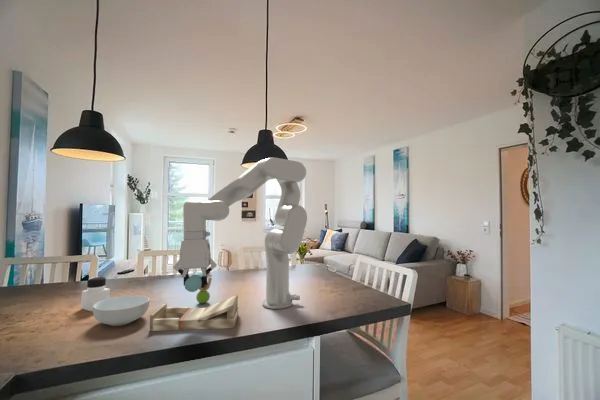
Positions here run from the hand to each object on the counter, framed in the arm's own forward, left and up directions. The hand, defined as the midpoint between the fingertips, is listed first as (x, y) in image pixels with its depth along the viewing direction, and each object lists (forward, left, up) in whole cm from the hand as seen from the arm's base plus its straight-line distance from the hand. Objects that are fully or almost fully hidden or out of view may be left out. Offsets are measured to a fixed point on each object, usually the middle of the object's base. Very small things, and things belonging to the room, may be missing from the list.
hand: (195, 286), depth 100 cm
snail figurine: (+2, -21, -13) cm, 24 cm away
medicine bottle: (+44, -19, -13) cm, 49 cm away
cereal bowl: (+26, -3, -13) cm, 29 cm away
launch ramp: (-1, 0, -12) cm, 12 cm away
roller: (0, 0, +2) cm, 2 cm away
